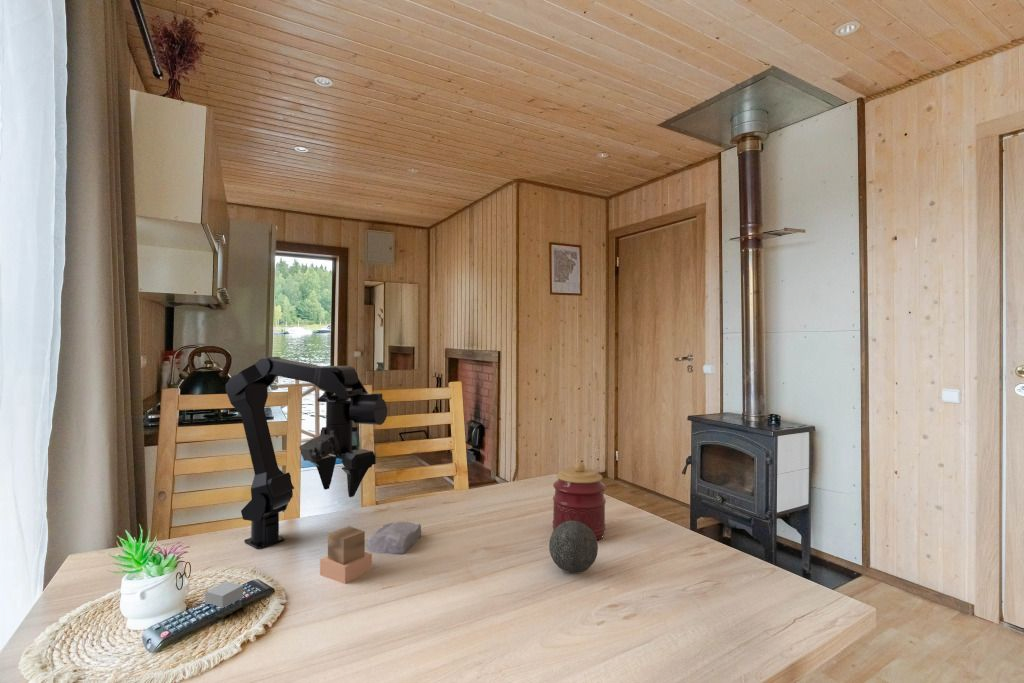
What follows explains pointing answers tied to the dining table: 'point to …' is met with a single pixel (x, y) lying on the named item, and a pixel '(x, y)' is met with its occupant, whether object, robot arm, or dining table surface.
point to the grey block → (224, 594)
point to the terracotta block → (345, 568)
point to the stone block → (394, 538)
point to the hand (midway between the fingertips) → (338, 492)
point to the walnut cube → (346, 545)
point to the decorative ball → (573, 546)
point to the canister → (580, 498)
